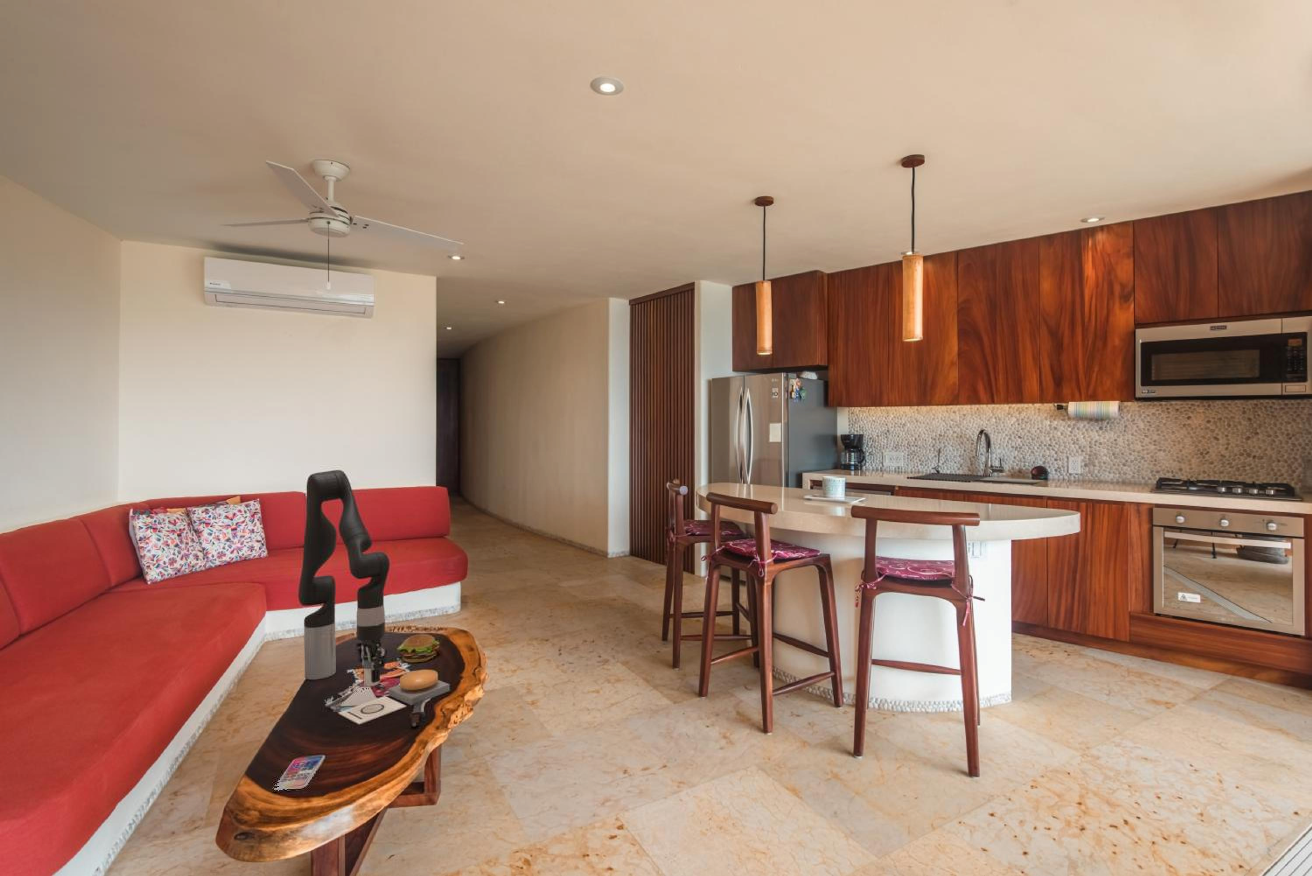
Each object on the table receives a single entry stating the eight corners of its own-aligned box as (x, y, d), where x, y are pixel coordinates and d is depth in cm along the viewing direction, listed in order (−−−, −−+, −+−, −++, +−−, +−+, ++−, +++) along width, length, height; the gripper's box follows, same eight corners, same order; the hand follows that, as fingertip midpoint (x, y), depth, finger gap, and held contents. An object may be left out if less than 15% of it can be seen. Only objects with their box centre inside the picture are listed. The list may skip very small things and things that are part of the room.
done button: (393, 684, 191) (392, 678, 191) (425, 673, 199) (425, 667, 199) (412, 692, 184) (412, 686, 184) (444, 681, 193) (444, 674, 193)
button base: (388, 695, 190) (388, 688, 190) (426, 681, 201) (426, 675, 201) (411, 705, 182) (411, 698, 182) (449, 690, 193) (449, 684, 193)
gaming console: (363, 681, 201) (395, 680, 202) (363, 683, 201) (395, 682, 202) (332, 711, 179) (367, 709, 179) (332, 713, 179) (367, 712, 179)
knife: (432, 695, 193) (415, 697, 192) (432, 688, 193) (415, 690, 192) (427, 727, 168) (407, 729, 167) (427, 719, 168) (407, 722, 167)
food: (416, 649, 233) (415, 628, 233) (446, 653, 228) (446, 631, 228) (388, 662, 220) (388, 639, 220) (420, 666, 215) (420, 643, 215)
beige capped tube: (361, 684, 179) (361, 660, 179) (374, 680, 182) (374, 656, 182) (368, 687, 177) (368, 663, 177) (381, 683, 180) (381, 659, 180)
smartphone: (269, 791, 137) (293, 758, 152) (269, 796, 137) (294, 762, 152) (305, 786, 139) (326, 753, 153) (305, 790, 139) (326, 757, 153)
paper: (338, 713, 178) (338, 712, 178) (384, 697, 189) (384, 695, 189) (359, 724, 170) (359, 723, 170) (405, 706, 182) (405, 705, 182)
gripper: (346, 620, 181) (347, 679, 181) (370, 628, 172) (371, 690, 172) (371, 614, 187) (371, 671, 187) (395, 622, 178) (396, 681, 178)
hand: (371, 680), depth 180 cm, fingers closed on beige capped tube, 4 cm apart
